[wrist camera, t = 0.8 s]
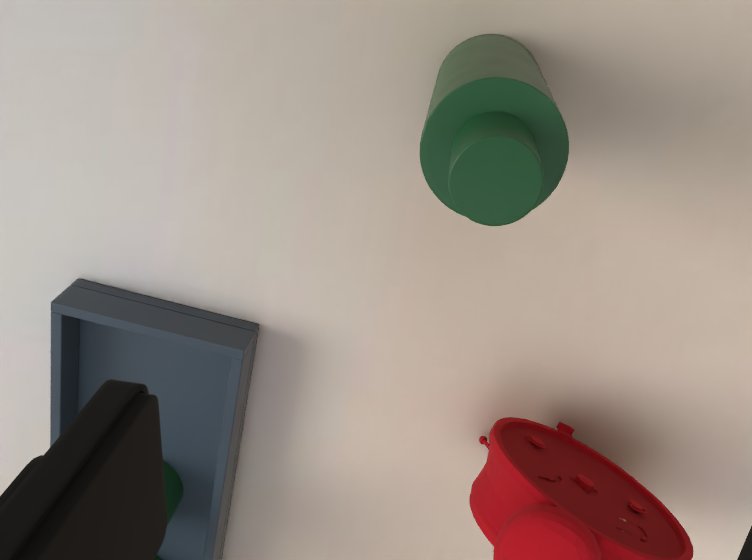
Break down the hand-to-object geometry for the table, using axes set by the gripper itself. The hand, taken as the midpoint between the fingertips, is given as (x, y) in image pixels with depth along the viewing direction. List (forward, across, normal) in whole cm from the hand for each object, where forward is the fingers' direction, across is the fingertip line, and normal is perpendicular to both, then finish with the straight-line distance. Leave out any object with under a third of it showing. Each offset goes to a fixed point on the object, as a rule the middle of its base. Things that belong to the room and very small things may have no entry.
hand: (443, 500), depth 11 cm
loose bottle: (+24, -1, -2) cm, 24 cm away
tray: (+24, +17, +28) cm, 41 cm away
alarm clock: (+24, -7, +16) cm, 30 cm away
